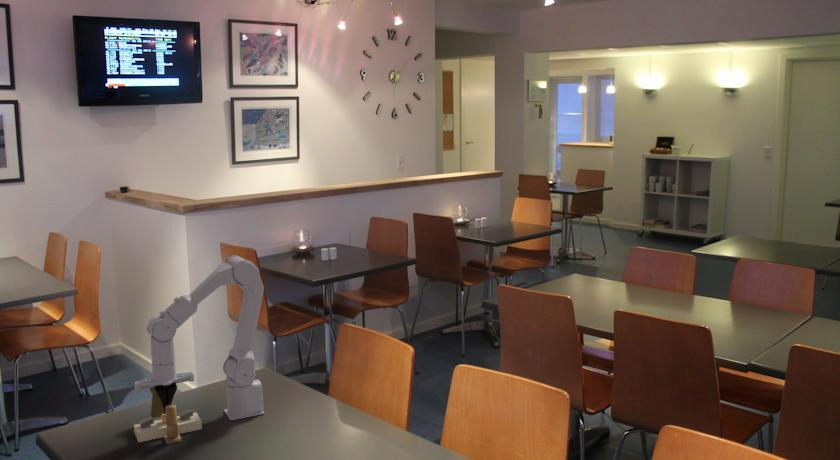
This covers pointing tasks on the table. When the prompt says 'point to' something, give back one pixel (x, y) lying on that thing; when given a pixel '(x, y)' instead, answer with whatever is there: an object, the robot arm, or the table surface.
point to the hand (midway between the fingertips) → (166, 411)
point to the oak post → (172, 425)
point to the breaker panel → (161, 427)
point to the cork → (156, 404)
